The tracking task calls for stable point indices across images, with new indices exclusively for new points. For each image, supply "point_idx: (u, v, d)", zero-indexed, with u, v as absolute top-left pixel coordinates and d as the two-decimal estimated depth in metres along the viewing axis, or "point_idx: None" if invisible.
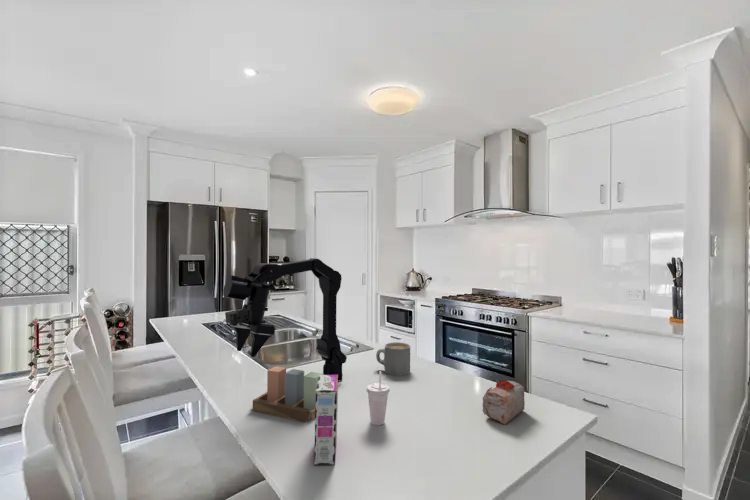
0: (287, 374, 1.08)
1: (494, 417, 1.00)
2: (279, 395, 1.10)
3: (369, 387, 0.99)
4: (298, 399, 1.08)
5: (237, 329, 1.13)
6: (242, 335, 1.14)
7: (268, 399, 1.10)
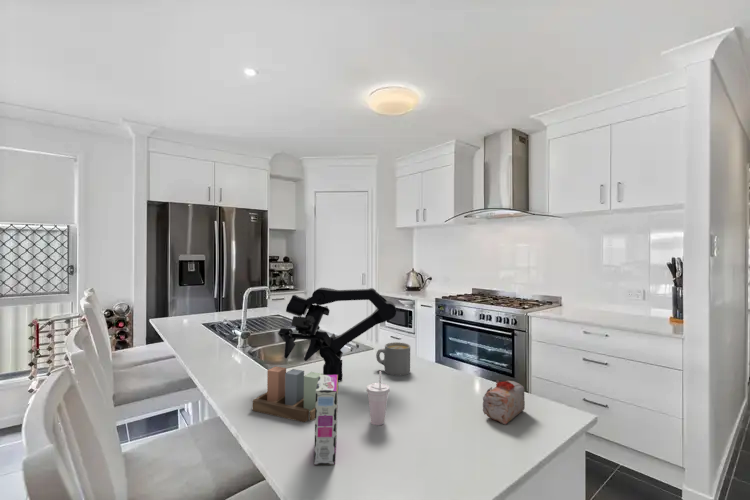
0: (287, 374, 1.08)
1: (494, 417, 1.00)
2: (279, 395, 1.10)
3: (369, 387, 0.99)
4: (298, 399, 1.08)
5: (289, 338, 1.25)
6: (290, 345, 1.25)
7: (268, 399, 1.10)
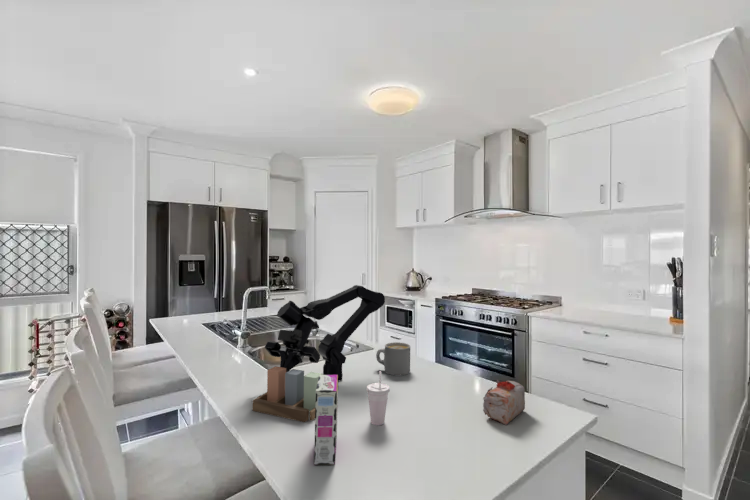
0: (287, 374, 1.08)
1: (495, 417, 1.00)
2: (279, 395, 1.10)
3: (369, 387, 0.99)
4: (298, 399, 1.08)
5: (285, 354, 1.17)
6: None
7: (268, 399, 1.10)
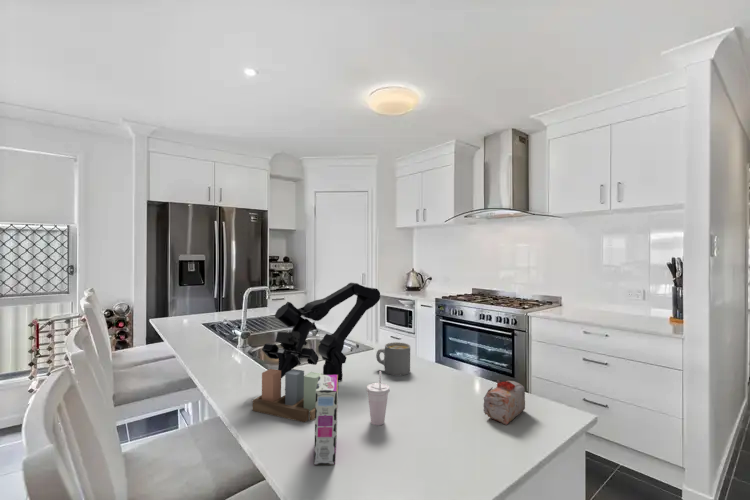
0: (287, 374, 1.08)
1: (495, 417, 1.00)
2: (274, 398, 1.07)
3: (369, 387, 0.99)
4: (298, 399, 1.08)
5: (283, 356, 1.16)
6: None
7: None
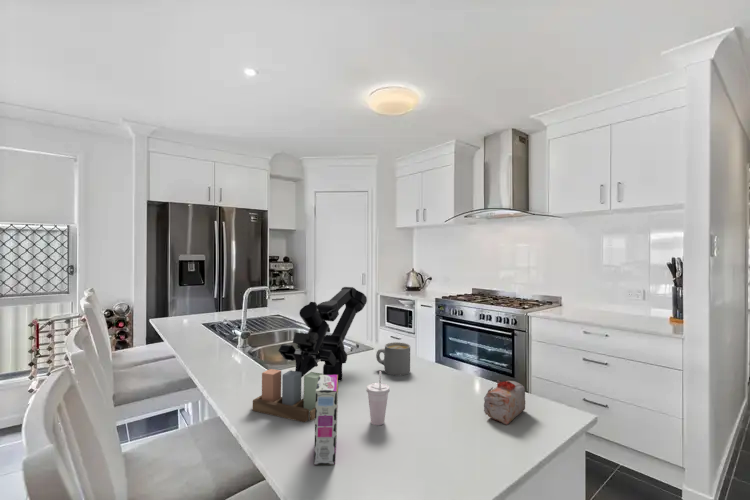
0: (284, 376, 1.07)
1: (496, 417, 1.00)
2: (274, 398, 1.07)
3: (369, 387, 0.99)
4: (295, 401, 1.06)
5: (300, 357, 1.13)
6: None
7: None
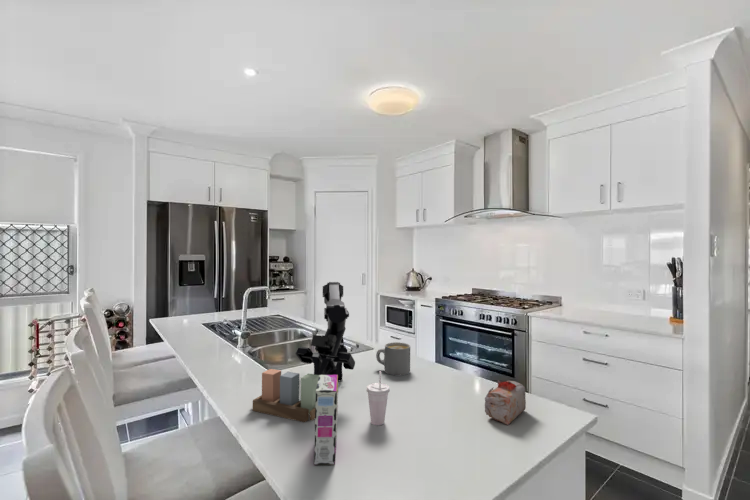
0: (282, 377, 1.05)
1: (497, 418, 1.00)
2: (274, 398, 1.07)
3: (369, 387, 0.99)
4: (293, 402, 1.05)
5: (318, 360, 1.11)
6: (319, 368, 1.11)
7: None
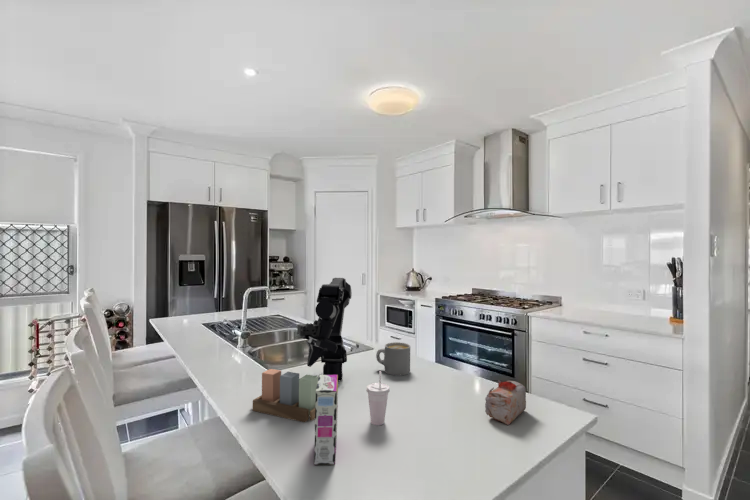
0: (282, 377, 1.05)
1: (497, 418, 1.00)
2: (274, 398, 1.07)
3: (369, 387, 0.99)
4: (293, 402, 1.05)
5: None
6: None
7: None
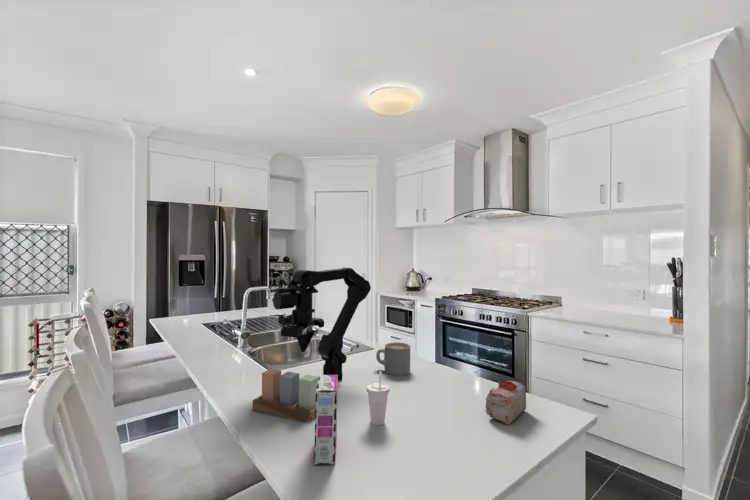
0: (282, 377, 1.05)
1: (498, 418, 0.99)
2: (274, 398, 1.07)
3: (369, 387, 0.99)
4: (293, 402, 1.05)
5: None
6: None
7: None
